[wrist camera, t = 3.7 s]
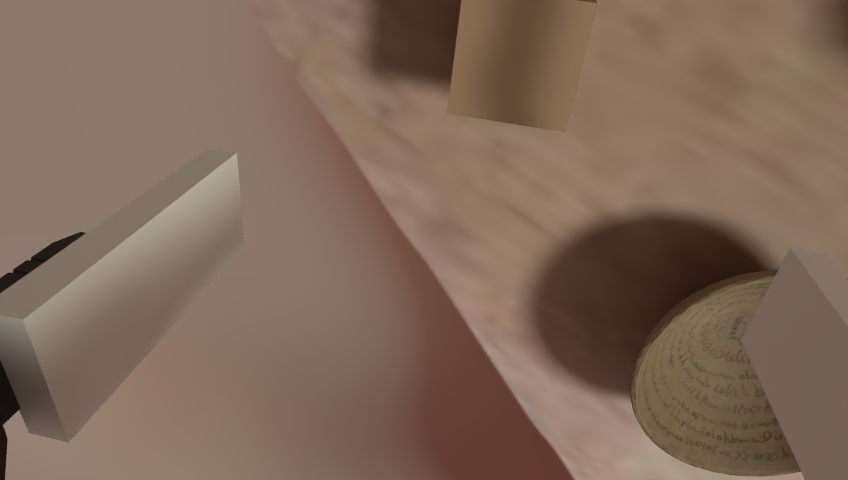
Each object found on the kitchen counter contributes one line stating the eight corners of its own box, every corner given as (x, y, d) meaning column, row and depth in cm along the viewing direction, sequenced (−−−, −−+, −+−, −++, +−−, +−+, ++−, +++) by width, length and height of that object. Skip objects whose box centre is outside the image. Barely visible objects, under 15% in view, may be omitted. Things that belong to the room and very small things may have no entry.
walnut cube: (462, 81, 39) (447, 113, 33) (476, -28, 35) (463, -15, 29) (562, 97, 38) (565, 131, 32) (588, -14, 34) (597, 3, 28)
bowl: (930, 317, 41) (1006, 398, 34) (721, 432, 50) (749, 513, 44) (756, 170, 38) (802, 227, 31) (568, 322, 47) (572, 391, 40)
